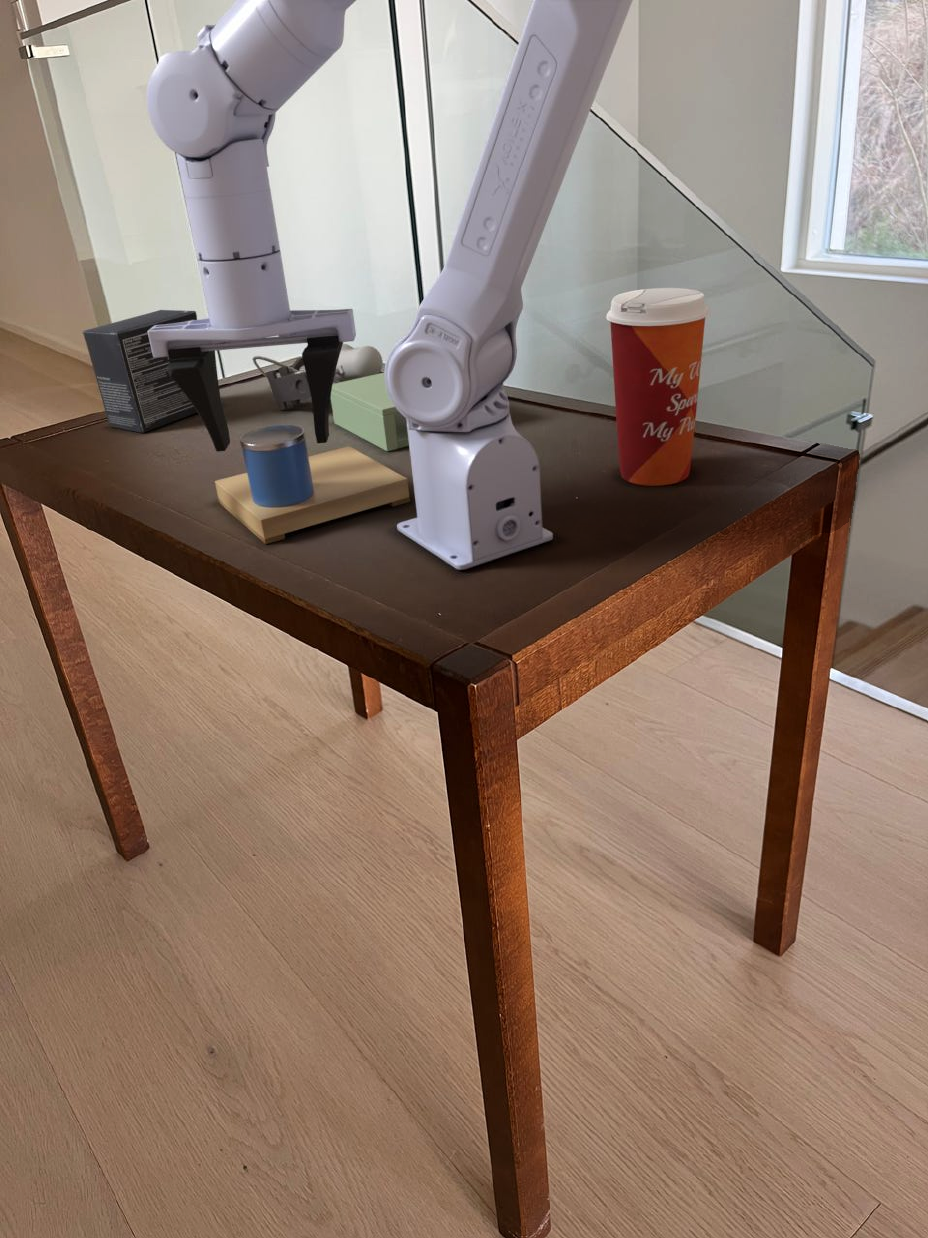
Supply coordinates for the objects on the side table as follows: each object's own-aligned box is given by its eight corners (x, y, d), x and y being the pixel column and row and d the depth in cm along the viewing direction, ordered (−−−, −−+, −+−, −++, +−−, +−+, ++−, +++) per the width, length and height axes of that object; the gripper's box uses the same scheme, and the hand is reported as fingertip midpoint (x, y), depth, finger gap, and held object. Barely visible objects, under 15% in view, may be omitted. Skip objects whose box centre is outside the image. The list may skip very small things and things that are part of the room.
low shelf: (410, 501, 77) (407, 478, 76) (265, 544, 71) (260, 520, 70) (352, 467, 85) (349, 445, 84) (219, 503, 80) (214, 480, 79)
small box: (182, 400, 110) (161, 307, 105) (220, 406, 107) (199, 309, 102) (105, 427, 103) (79, 328, 98) (143, 434, 100) (117, 332, 94)
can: (324, 496, 74) (314, 434, 71) (265, 513, 72) (252, 449, 69) (300, 479, 77) (290, 420, 75) (243, 495, 75) (230, 434, 73)
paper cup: (670, 497, 73) (674, 309, 66) (588, 479, 78) (585, 302, 71) (721, 466, 78) (731, 288, 71) (641, 451, 83) (643, 283, 76)
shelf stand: (495, 422, 93) (493, 382, 91) (387, 451, 88) (381, 409, 86) (435, 398, 102) (431, 361, 100) (334, 423, 97) (328, 384, 95)
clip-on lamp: (246, 417, 113) (307, 413, 98) (226, 364, 110) (285, 351, 95) (331, 385, 118) (401, 377, 103) (314, 334, 115) (382, 318, 100)
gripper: (348, 237, 69) (371, 419, 76) (151, 254, 70) (191, 434, 76) (338, 251, 63) (364, 448, 70) (122, 270, 63) (168, 464, 70)
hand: (273, 443), depth 72 cm, fingers open, 7 cm apart
